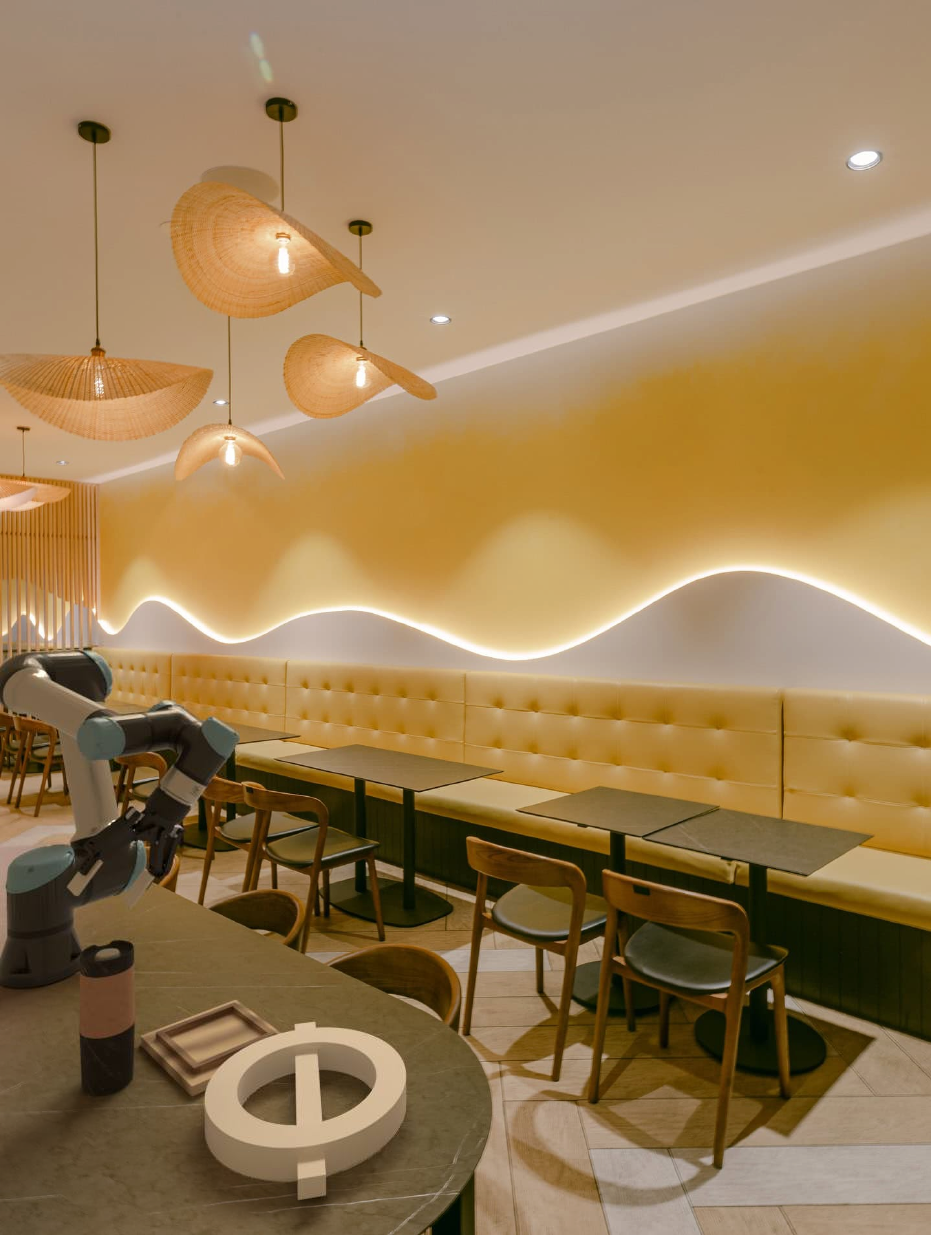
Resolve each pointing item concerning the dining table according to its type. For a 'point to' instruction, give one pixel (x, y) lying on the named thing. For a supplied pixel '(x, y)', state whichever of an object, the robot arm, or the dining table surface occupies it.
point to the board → (205, 1043)
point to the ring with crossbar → (305, 1106)
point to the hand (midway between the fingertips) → (100, 898)
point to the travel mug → (107, 1017)
